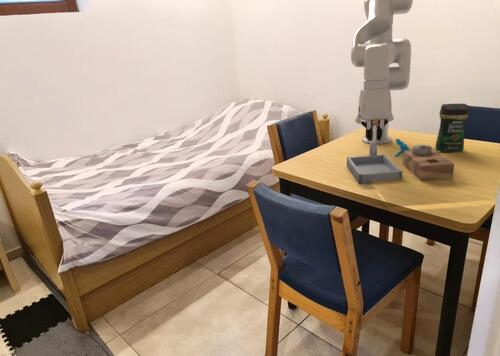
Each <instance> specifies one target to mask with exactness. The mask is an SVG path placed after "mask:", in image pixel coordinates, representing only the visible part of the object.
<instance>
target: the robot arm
mask: <svg viewBox="0 0 500 356" xmlns="http://www.w3.org/2000/svg"><path fill="white" fill-rule="evenodd" d="M413 1H414V0H363V9H364V12H365V13H364V14H365V17H366V19H367V21H366V22H365V23H363V25H361V26H360V27H359V29H357V31H356V33H355V34H354V36H353V39H352V44H351V53H350V61H351V64H352V65H353V66H354V67H356V68H363V88H362V89H360V92H359V98H358V105H357V114H356V115H357V116H356V118H355V120H354V122H355V123H356V124H358V125H361V126H362V127H364V128H365V135H363V136H361V141H362V142H364V143H365V144H370V141H371V140H372V130H371V120H379V123H378V138H377V145H383V144H389V143H391V141H392V139H393V137H392V136H390V135H389V123H390V122H392V121H394V120H395V117H394V115H393V113H392V108H393V107H392V93H391V91H403V90H406V89H407V88H408V87H409V85H410V79H411V62H412V61H411V60H412V59H411V58H412V44H411V41H410V40H409V39H407V38H393V25H394V15H404V14H408V13H409V12H410V10H411V8H412V6H413ZM366 42H367V43H366ZM392 64H397V65H398V66H390V65H392Z"/></svg>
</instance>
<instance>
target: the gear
mask: <svg viewBox="0 0 500 356" xmlns="http://www.w3.org/2000/svg"><path fill="white" fill-rule="evenodd" d="M395 143H396V144H397V145H398V147H399V148H400V149H399V151H398V152H397V153H396V154H395V155H393V156H394V158H398V157H399V156H400V155H402V154H403V151H410V150H411V149H409V146H408V145H407V143H404V142H403V141H402V140H401V139H400V138H396V139H395Z"/></svg>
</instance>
